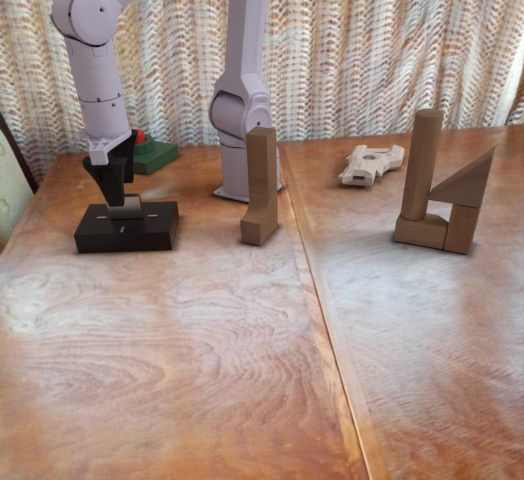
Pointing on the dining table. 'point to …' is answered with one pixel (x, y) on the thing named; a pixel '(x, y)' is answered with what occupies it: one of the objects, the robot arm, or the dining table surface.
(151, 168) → the box
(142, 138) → the release button
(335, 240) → the dining table surface
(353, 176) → the gun
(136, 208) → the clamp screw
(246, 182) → the robot arm
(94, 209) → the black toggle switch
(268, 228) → the wooden block
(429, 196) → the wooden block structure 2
